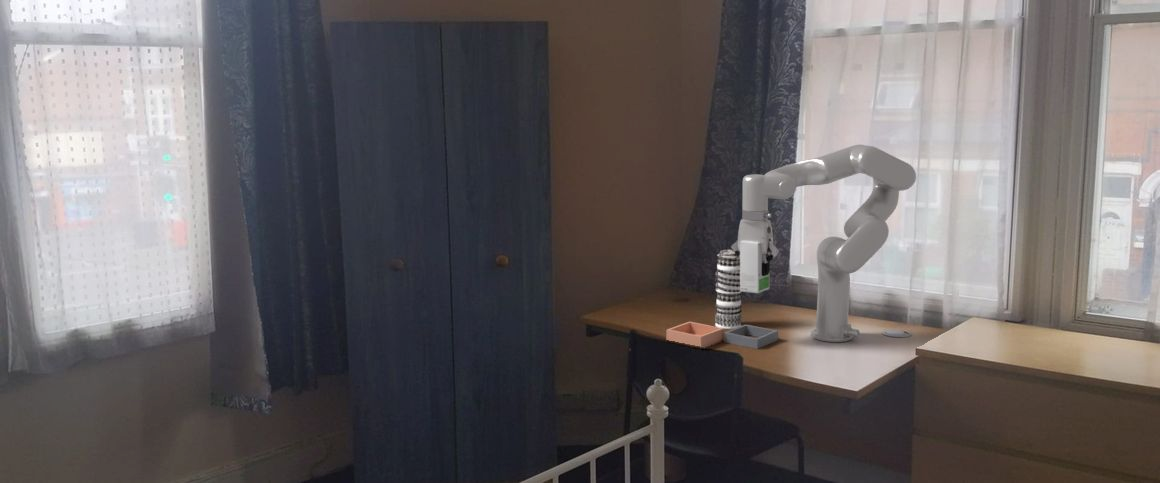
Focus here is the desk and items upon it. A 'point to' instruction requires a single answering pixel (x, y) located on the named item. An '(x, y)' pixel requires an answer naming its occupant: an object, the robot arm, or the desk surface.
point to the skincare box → (752, 268)
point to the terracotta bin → (695, 334)
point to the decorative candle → (728, 290)
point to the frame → (738, 337)
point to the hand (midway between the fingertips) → (754, 273)
